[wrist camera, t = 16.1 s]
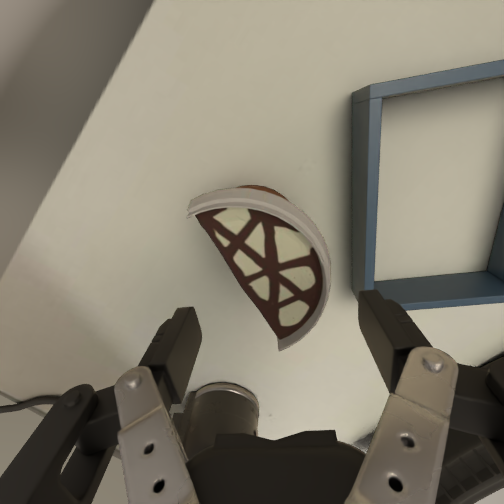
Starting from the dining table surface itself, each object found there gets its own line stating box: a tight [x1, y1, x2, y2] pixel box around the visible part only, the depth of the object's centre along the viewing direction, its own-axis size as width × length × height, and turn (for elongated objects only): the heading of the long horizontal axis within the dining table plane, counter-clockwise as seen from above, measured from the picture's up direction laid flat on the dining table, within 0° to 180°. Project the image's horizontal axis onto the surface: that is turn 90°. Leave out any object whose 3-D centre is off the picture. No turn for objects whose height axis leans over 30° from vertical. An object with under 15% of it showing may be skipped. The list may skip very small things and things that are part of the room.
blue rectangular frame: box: [352, 60, 504, 311], centre depth 21 cm, size 14×18×4 cm
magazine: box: [435, 357, 504, 504], centre depth 28 cm, size 17×3×30 cm
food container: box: [186, 185, 331, 351], centre depth 20 cm, size 12×6×10 cm, turn 30°
